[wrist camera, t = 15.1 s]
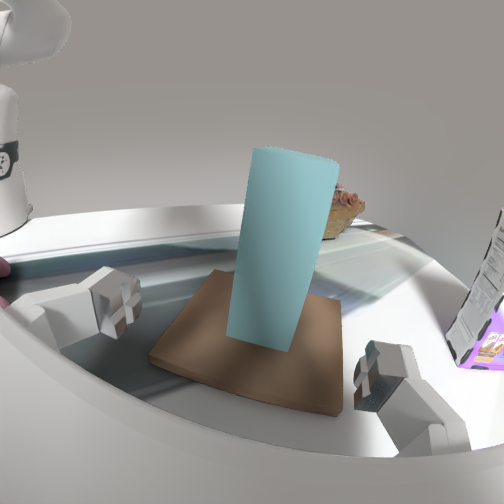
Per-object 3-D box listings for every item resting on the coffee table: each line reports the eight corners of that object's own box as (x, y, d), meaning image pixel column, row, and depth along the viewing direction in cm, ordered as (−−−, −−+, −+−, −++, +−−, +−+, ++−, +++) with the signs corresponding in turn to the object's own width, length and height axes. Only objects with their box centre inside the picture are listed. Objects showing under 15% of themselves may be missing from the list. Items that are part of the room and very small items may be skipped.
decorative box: (240, 218, 50) (248, 166, 46) (323, 218, 59) (333, 176, 55) (275, 250, 40) (288, 184, 36) (365, 244, 49) (379, 195, 45)
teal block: (225, 335, 21) (253, 148, 15) (242, 302, 25) (268, 146, 20) (287, 352, 20) (339, 166, 14) (295, 315, 25) (335, 160, 19)
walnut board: (149, 362, 18) (147, 354, 18) (213, 276, 31) (214, 269, 30) (337, 416, 16) (342, 409, 15) (337, 308, 28) (340, 300, 28)
